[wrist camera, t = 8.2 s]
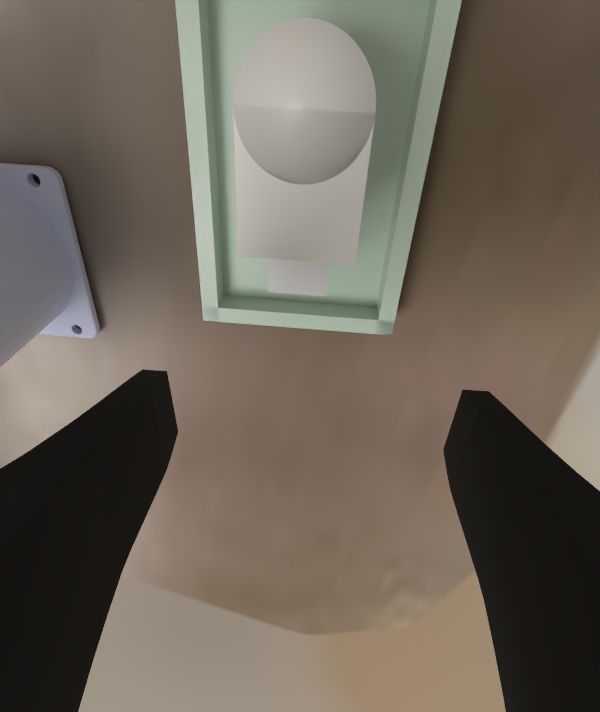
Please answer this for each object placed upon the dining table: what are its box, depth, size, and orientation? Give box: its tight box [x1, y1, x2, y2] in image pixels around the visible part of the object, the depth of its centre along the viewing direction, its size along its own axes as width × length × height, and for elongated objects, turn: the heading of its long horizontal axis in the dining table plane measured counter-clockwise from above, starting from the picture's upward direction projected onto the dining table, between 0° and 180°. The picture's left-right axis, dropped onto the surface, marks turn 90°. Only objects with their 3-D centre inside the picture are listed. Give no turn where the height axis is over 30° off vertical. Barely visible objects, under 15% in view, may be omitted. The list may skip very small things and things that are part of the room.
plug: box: [233, 18, 376, 296], centre depth 14 cm, size 8×4×5 cm, turn 177°
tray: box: [175, 0, 462, 335], centre depth 16 cm, size 8×12×2 cm
